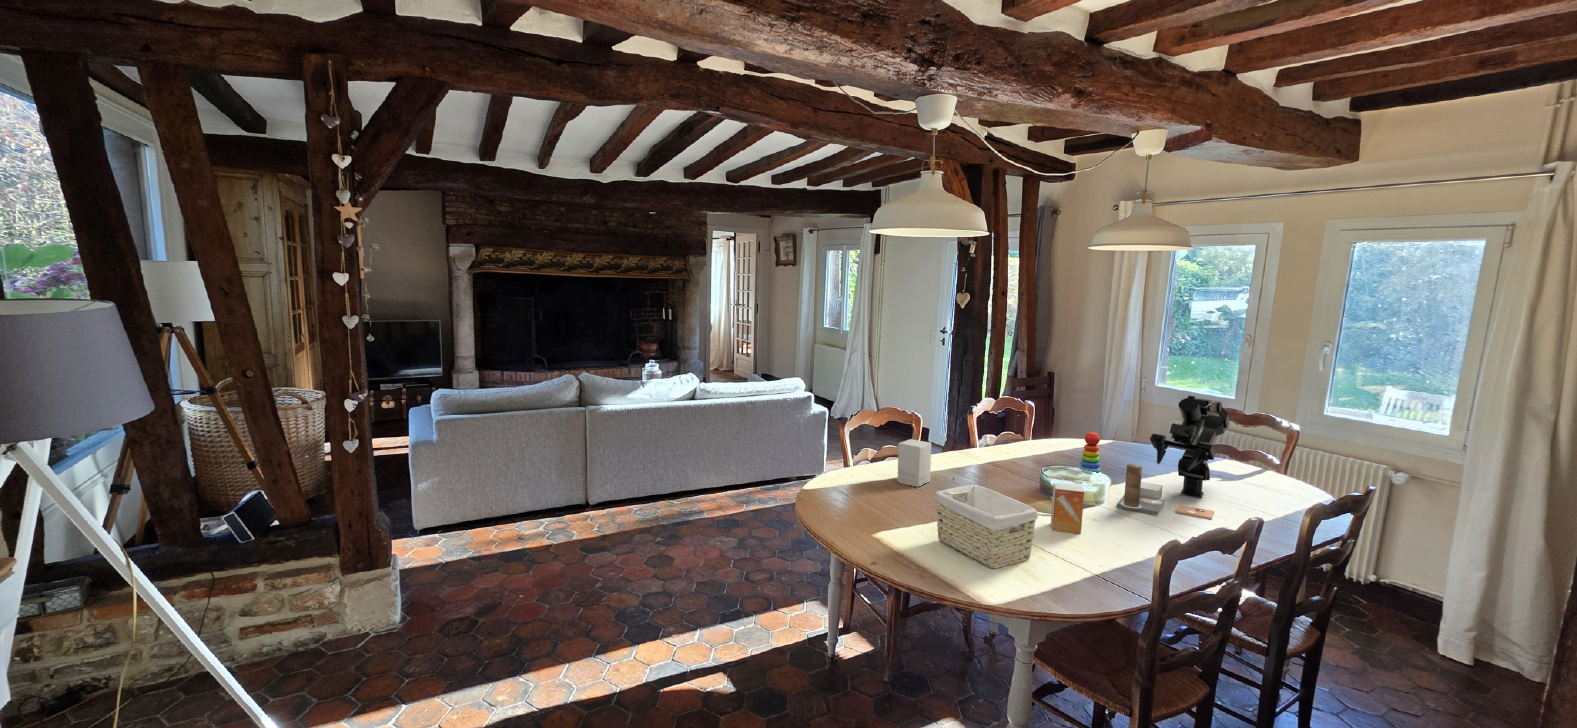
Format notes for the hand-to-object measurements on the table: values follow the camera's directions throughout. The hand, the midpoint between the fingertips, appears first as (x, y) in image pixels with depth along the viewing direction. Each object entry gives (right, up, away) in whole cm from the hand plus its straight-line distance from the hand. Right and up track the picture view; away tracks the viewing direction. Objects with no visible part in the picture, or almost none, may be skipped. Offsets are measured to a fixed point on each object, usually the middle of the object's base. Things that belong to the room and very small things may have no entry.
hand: (1172, 466), depth 218 cm
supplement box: (-80, -10, +24) cm, 84 cm away
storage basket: (-73, -18, -35) cm, 83 cm away
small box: (-43, -16, -19) cm, 50 cm away
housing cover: (-3, -12, +11) cm, 17 cm away
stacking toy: (-15, -10, +27) cm, 33 cm away
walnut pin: (-14, -12, -1) cm, 19 cm away
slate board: (-9, -13, +2) cm, 16 cm away
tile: (+5, -14, -4) cm, 16 cm away
